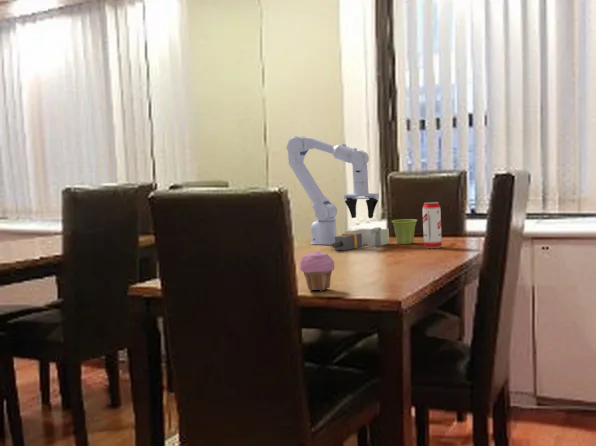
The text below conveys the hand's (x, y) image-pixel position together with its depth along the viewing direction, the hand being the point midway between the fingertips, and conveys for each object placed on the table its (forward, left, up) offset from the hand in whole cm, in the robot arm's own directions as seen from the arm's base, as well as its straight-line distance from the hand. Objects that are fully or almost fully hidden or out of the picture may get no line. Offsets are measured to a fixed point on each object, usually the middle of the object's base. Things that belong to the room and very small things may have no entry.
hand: (362, 217), depth 285 cm
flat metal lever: (+13, -13, -4) cm, 18 cm away
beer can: (+32, -5, -10) cm, 34 cm away
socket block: (+4, -3, -10) cm, 11 cm away
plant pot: (+16, +4, -10) cm, 19 cm away
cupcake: (+42, -89, -10) cm, 99 cm away
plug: (+3, -17, -10) cm, 19 cm away
